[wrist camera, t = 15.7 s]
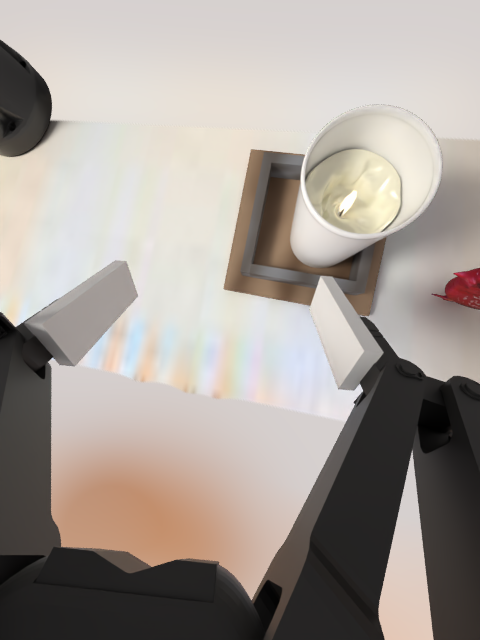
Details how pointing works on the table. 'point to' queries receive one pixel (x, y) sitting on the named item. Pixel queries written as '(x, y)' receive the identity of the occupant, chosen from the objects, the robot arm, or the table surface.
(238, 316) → the table surface
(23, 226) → the table surface
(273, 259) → the brown square wooden tray
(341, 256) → the candle holder
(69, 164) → the table surface
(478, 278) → the decorative bird figurine
